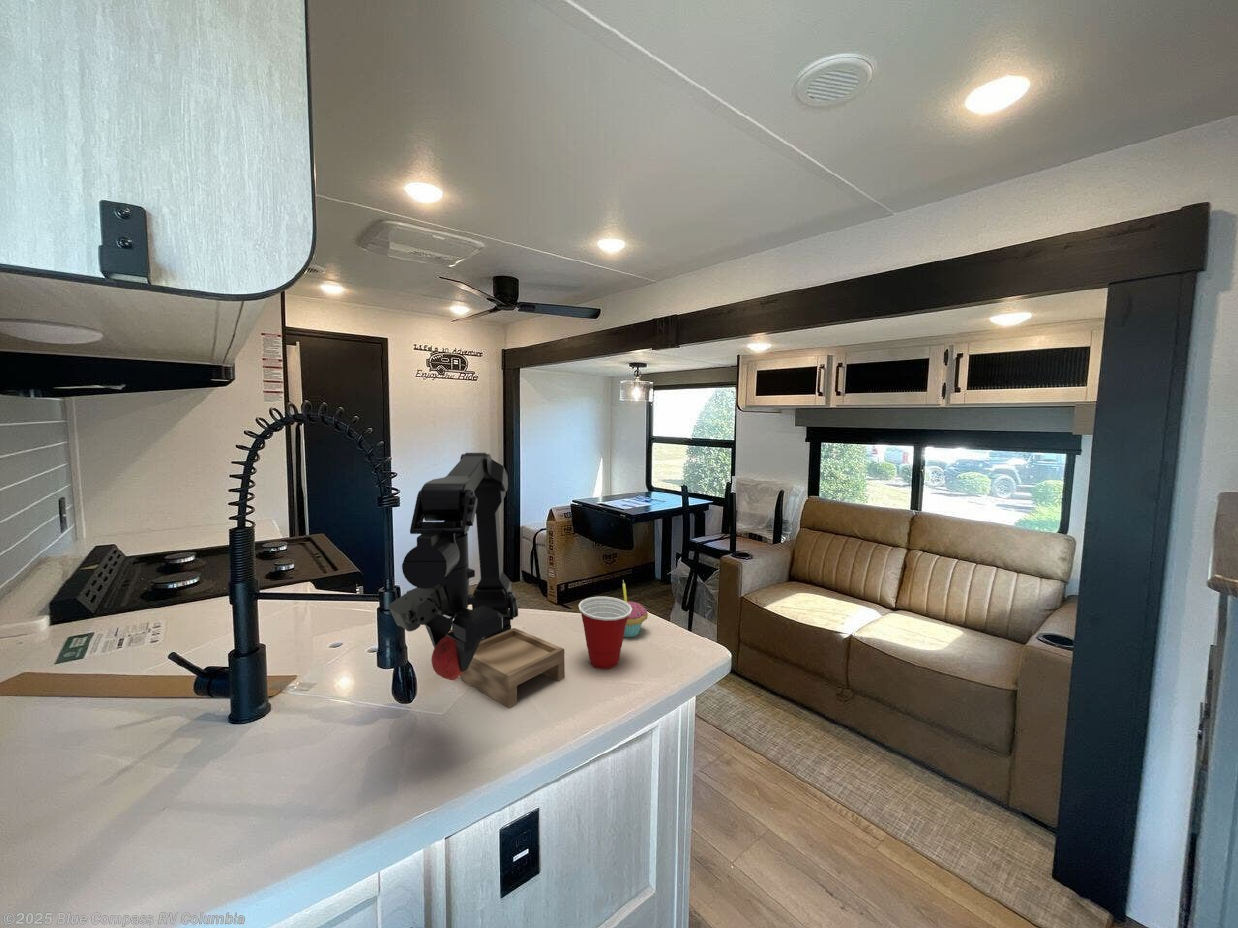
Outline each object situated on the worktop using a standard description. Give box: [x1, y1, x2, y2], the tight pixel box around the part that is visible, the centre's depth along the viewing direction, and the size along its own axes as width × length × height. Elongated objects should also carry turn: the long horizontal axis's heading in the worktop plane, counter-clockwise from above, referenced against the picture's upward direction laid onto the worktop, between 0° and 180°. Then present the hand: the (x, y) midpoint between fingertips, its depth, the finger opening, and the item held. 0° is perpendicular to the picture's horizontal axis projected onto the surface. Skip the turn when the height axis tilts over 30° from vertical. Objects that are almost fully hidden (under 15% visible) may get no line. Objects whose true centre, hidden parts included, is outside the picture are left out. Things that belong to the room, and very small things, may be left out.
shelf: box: [459, 627, 566, 709], centre depth 93 cm, size 15×13×6 cm
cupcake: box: [622, 579, 649, 638], centre depth 113 cm, size 9×8×12 cm
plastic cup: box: [578, 596, 632, 670], centre depth 99 cm, size 11×11×12 cm
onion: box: [431, 629, 465, 681], centre depth 75 cm, size 6×6×8 cm
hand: (452, 663), depth 75 cm, fingers closed on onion, 6 cm apart
